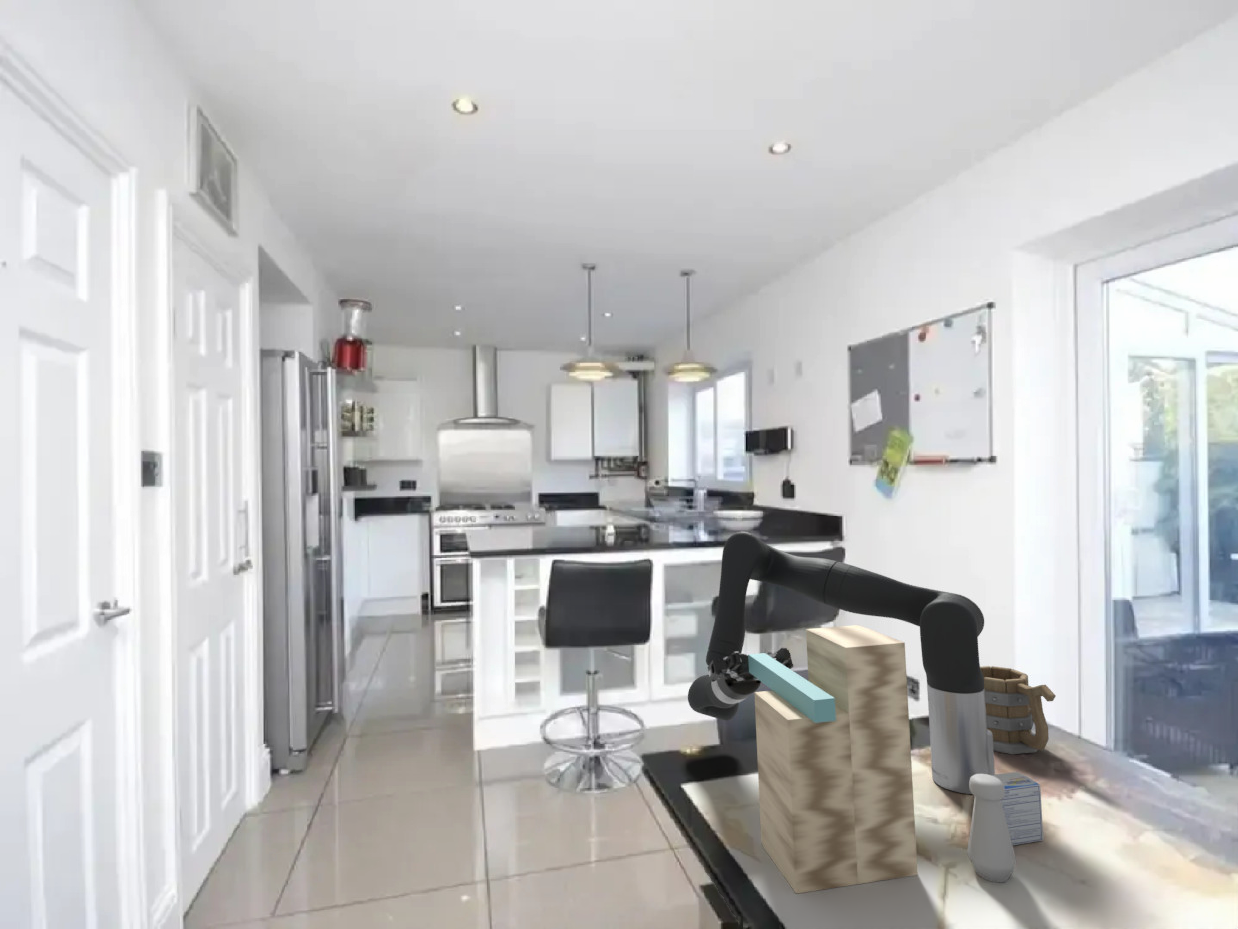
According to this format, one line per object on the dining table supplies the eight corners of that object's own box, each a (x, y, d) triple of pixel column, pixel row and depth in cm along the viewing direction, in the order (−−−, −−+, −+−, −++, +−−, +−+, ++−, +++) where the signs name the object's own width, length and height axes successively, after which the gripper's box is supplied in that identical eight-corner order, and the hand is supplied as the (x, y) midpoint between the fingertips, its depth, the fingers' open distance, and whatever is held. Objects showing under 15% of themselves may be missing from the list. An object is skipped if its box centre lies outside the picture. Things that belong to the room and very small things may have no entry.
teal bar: (765, 670, 108) (764, 653, 108) (836, 720, 84) (834, 698, 84) (748, 672, 107) (748, 654, 107) (815, 723, 84) (813, 700, 84)
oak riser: (869, 829, 99) (858, 624, 100) (917, 874, 87) (904, 642, 88) (761, 844, 96) (751, 633, 97) (796, 893, 84) (784, 653, 85)
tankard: (953, 732, 135) (949, 661, 136) (1007, 727, 136) (1003, 657, 137) (1023, 773, 115) (1018, 691, 116) (1085, 767, 117) (1080, 686, 117)
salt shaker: (1024, 888, 83) (1017, 789, 84) (977, 885, 84) (971, 786, 85) (1006, 862, 89) (1000, 769, 89) (962, 859, 90) (957, 767, 91)
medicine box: (1020, 826, 98) (1017, 770, 98) (1044, 842, 94) (1041, 783, 94) (976, 833, 97) (972, 776, 97) (998, 849, 92) (994, 789, 93)
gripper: (695, 662, 119) (717, 636, 106) (766, 656, 121) (796, 630, 108) (702, 703, 115) (726, 682, 102) (775, 696, 118) (808, 674, 104)
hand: (762, 655), depth 105 cm, fingers open, 8 cm apart
